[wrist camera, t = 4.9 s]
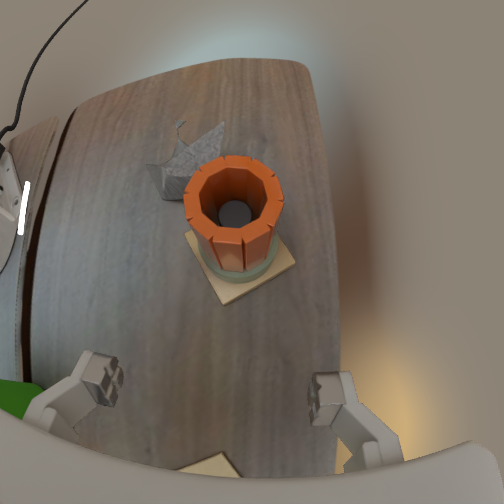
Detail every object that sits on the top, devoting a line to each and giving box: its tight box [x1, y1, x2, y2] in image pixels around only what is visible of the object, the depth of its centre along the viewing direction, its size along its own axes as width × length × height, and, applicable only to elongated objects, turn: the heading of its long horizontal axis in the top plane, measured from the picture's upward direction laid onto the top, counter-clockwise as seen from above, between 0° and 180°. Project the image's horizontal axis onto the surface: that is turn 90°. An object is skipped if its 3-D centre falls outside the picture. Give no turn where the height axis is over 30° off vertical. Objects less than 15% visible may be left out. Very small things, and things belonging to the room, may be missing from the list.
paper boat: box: [146, 120, 225, 200], centre depth 29 cm, size 12×6×9 cm
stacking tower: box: [184, 200, 296, 306], centre depth 25 cm, size 8×8×10 cm
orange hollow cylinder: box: [183, 155, 284, 273], centre depth 21 cm, size 6×6×8 cm
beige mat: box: [175, 452, 241, 478], centre depth 22 cm, size 10×10×1 cm
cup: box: [0, 379, 44, 420], centre depth 19 cm, size 9×9×11 cm
